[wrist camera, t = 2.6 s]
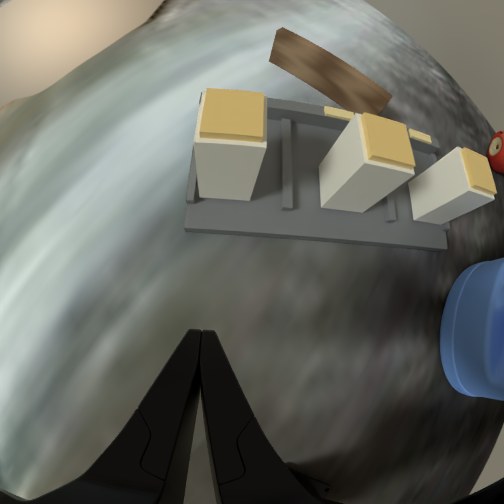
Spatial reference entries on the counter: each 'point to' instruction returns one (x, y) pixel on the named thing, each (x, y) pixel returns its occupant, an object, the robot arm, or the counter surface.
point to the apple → (497, 152)
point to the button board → (313, 189)
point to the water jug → (475, 331)
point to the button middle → (365, 163)
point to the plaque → (327, 74)
